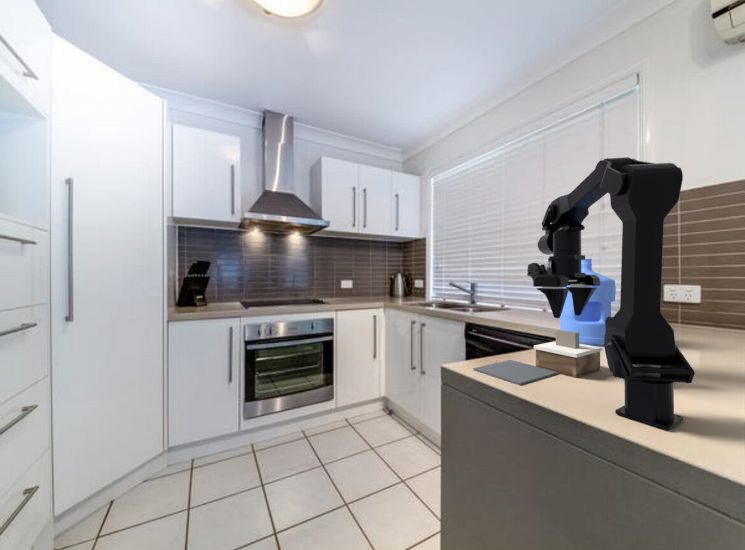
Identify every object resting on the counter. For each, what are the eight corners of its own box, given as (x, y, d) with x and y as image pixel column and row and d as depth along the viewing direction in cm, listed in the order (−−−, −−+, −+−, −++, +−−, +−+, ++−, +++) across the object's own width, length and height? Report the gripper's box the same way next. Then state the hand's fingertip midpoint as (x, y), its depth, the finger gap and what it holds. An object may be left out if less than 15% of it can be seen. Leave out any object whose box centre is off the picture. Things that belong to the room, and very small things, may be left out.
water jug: (549, 337, 110) (548, 260, 110) (586, 336, 113) (585, 260, 113) (587, 347, 94) (586, 257, 95) (629, 345, 97) (628, 257, 97)
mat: (520, 385, 62) (520, 383, 62) (473, 369, 72) (473, 368, 72) (558, 373, 69) (558, 372, 69) (510, 361, 79) (510, 359, 79)
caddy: (576, 377, 66) (575, 357, 66) (535, 367, 74) (535, 348, 74) (600, 369, 72) (600, 350, 72) (560, 360, 80) (560, 343, 80)
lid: (576, 362, 66) (576, 337, 66) (533, 353, 74) (533, 330, 74) (602, 355, 72) (602, 332, 72) (559, 347, 80) (559, 326, 80)
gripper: (554, 255, 85) (555, 311, 85) (512, 252, 75) (512, 315, 75) (600, 252, 75) (601, 315, 75) (558, 248, 66) (559, 321, 66)
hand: (567, 316), depth 73 cm, fingers open, 9 cm apart
